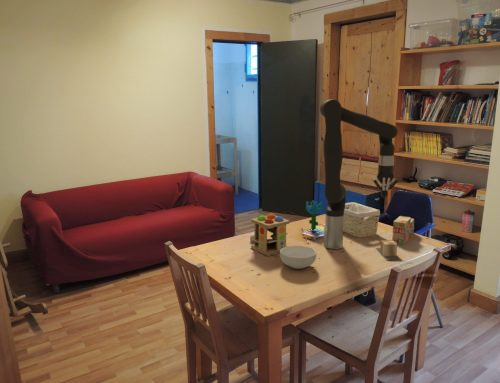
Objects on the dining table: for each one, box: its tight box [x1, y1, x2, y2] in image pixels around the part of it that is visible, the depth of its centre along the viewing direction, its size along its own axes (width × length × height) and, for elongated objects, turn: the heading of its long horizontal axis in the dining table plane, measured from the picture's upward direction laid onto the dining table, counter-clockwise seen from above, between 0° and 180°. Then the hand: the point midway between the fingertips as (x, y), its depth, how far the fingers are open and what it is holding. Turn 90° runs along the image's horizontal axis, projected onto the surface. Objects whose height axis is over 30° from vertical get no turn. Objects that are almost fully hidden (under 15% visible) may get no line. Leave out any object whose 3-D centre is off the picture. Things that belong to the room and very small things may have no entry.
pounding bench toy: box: [250, 213, 290, 257], centre depth 216 cm, size 23×14×18 cm, turn 35°
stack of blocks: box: [391, 215, 415, 245], centre depth 228 cm, size 21×6×12 cm, turn 146°
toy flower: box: [305, 199, 323, 230], centre depth 239 cm, size 9×9×18 cm
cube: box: [379, 239, 398, 256], centre depth 205 cm, size 6×6×6 cm
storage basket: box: [343, 201, 381, 238], centre depth 241 cm, size 24×16×15 cm
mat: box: [375, 247, 403, 262], centre depth 206 cm, size 7×17×1 cm, turn 1°
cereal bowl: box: [279, 245, 317, 270], centre depth 192 cm, size 17×17×7 cm
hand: (384, 197), depth 214 cm, fingers closed
